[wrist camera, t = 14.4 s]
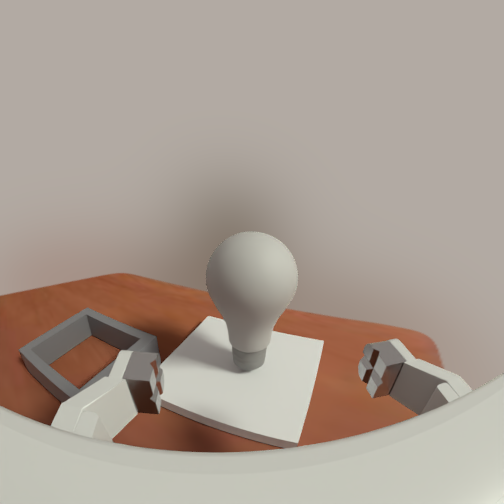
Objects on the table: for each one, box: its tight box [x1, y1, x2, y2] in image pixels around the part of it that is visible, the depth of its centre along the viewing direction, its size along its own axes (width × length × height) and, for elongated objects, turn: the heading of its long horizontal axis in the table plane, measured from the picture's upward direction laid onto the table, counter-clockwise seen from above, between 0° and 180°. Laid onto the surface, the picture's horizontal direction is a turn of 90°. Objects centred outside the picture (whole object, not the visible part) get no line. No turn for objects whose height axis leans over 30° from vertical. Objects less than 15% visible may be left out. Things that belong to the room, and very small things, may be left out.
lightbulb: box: [206, 232, 298, 370], centre depth 19 cm, size 6×6×11 cm
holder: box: [19, 308, 160, 403], centre depth 19 cm, size 10×10×2 cm
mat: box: [160, 316, 324, 448], centre depth 21 cm, size 12×12×1 cm
